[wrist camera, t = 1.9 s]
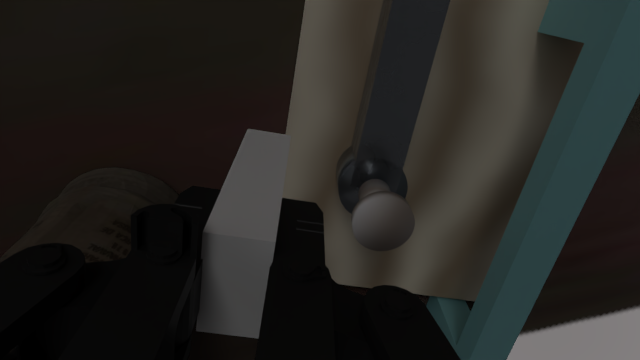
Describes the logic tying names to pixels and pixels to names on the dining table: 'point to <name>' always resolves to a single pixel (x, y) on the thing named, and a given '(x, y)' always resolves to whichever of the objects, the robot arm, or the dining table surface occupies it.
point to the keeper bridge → (554, 175)
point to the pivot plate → (426, 141)
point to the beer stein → (96, 213)
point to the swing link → (391, 96)
